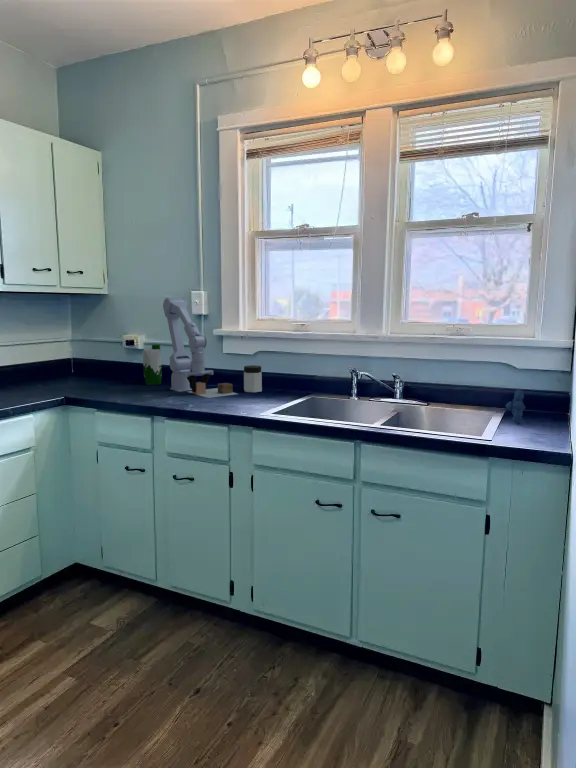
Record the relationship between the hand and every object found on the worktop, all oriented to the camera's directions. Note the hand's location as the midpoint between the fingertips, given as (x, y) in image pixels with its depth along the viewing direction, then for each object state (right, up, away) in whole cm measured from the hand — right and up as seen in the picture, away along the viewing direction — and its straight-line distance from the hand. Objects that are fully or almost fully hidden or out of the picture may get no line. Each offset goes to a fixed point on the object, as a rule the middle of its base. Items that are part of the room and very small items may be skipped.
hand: (198, 391), depth 248 cm
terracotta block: (0, -1, 0) cm, 1 cm away
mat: (+6, -1, +2) cm, 6 cm away
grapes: (+122, -11, -56) cm, 134 cm away
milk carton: (-29, +3, +31) cm, 42 cm away
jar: (+24, 0, +8) cm, 26 cm away
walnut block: (+12, -1, +3) cm, 12 cm away
